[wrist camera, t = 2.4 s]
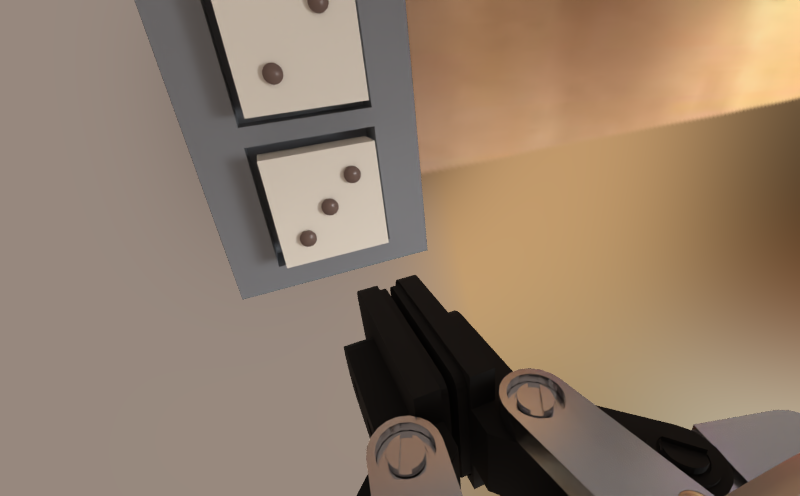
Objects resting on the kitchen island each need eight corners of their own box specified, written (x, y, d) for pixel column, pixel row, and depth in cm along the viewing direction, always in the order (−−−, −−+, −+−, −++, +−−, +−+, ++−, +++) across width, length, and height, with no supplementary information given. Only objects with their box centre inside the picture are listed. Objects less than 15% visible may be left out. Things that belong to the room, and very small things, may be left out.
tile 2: (339, -36, 18) (349, -50, 16) (359, 98, 20) (370, 100, 19) (205, -29, 16) (198, -44, 14) (245, 115, 19) (244, 119, 17)
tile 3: (364, 135, 21) (375, 141, 19) (379, 230, 24) (389, 243, 22) (256, 154, 20) (257, 162, 18) (284, 254, 22) (287, 270, 21)
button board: (350, -295, 17) (371, -378, 14) (409, 231, 28) (427, 250, 25) (33, -337, 14) (-30, -455, 11) (244, 273, 25) (242, 299, 22)
